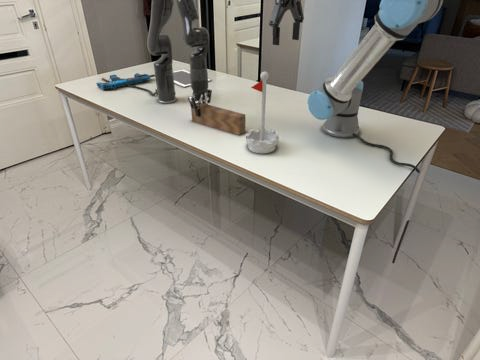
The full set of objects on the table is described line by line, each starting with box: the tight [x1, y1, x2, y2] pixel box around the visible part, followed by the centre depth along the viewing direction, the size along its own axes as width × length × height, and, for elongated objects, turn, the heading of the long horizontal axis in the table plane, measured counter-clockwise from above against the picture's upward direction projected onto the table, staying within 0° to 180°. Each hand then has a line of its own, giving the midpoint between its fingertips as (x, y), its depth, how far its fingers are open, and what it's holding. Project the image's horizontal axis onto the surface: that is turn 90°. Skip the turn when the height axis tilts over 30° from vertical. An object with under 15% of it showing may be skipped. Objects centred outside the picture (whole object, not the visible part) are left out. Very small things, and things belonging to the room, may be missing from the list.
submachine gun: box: [95, 72, 155, 91], centre depth 209 cm, size 34×4×25 cm
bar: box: [190, 102, 246, 136], centre depth 152 cm, size 27×4×8 cm, turn 55°
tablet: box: [173, 69, 212, 88], centre depth 216 cm, size 32×20×1 cm, turn 41°
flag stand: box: [245, 71, 280, 154], centre depth 128 cm, size 13×13×30 cm
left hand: (201, 114), depth 157 cm, fingers closed on bar, 4 cm apart
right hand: (285, 42), depth 137 cm, fingers open, 13 cm apart
